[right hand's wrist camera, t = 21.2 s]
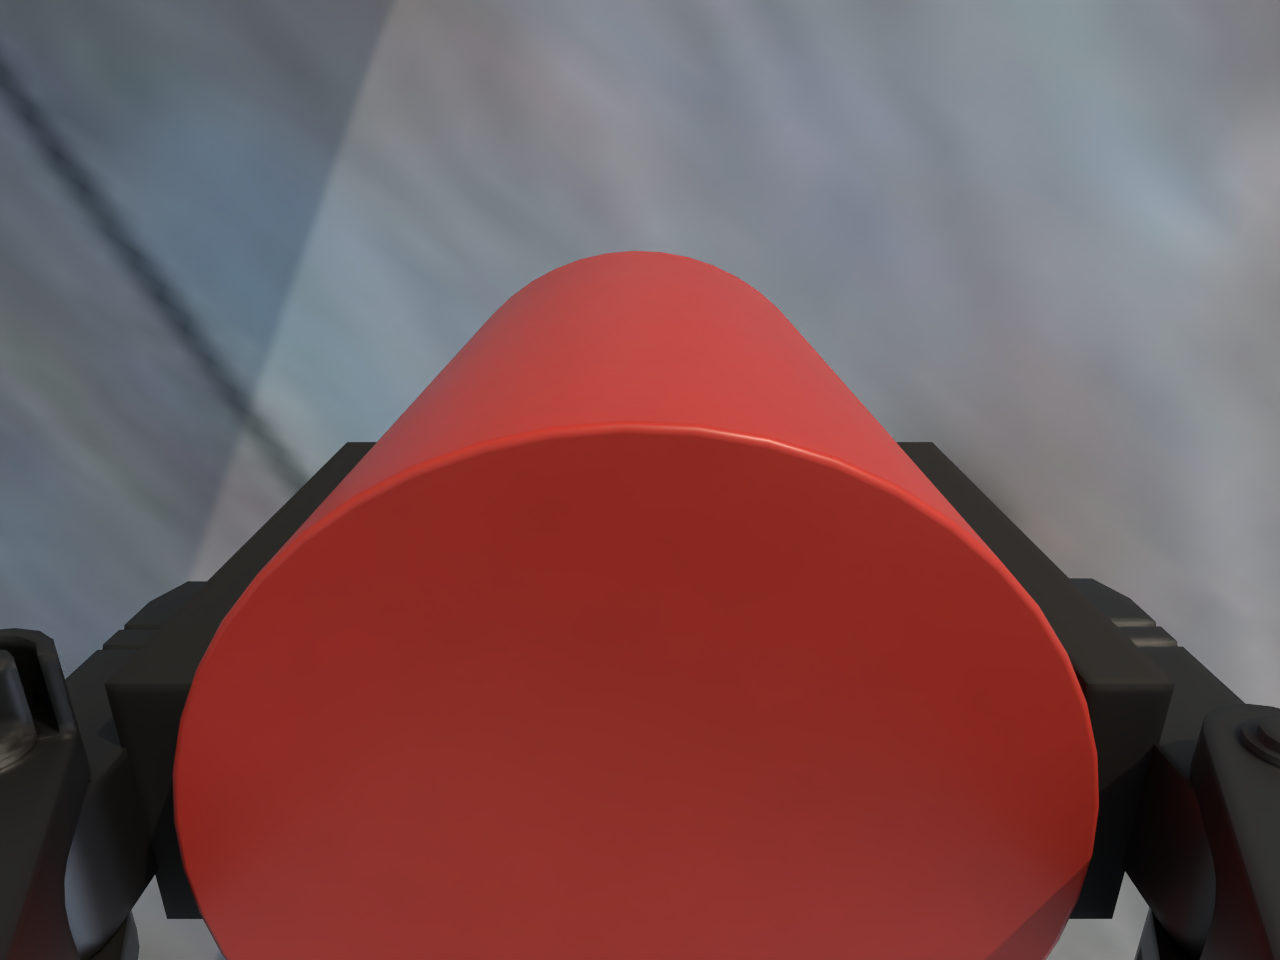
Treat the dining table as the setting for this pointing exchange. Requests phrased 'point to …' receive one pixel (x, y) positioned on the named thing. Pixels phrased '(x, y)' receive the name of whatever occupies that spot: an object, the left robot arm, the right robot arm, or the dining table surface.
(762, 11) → the dining table surface
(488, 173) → the dining table surface
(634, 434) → the canister
